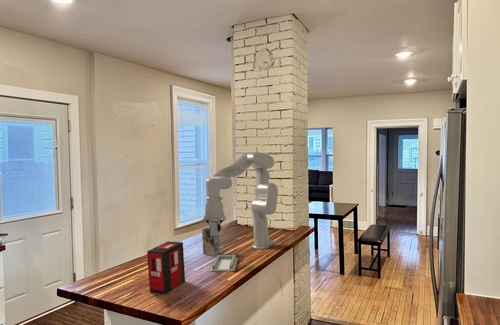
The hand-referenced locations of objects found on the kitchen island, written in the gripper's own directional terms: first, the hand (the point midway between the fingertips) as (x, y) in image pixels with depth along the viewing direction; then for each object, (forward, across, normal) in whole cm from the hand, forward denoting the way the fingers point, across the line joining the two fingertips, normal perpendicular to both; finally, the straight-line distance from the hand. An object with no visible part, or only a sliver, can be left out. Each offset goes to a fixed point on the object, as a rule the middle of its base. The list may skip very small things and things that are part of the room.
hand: (215, 230), depth 196 cm
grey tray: (+19, -5, +3) cm, 20 cm away
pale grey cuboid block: (+1, 0, 0) cm, 1 cm away
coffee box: (+19, +7, -17) cm, 27 cm away
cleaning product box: (+19, +18, +32) cm, 42 cm away
